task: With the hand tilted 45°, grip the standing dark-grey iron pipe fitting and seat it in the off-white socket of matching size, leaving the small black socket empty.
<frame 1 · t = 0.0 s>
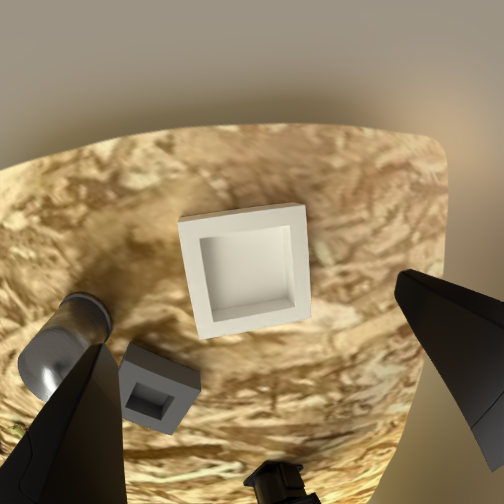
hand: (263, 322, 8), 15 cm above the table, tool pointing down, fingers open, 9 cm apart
key: (47, 449, 25), on the table
fitting: (85, 319, 22), on the table
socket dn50: (243, 264, 24), on the table
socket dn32: (151, 383, 25), on the table
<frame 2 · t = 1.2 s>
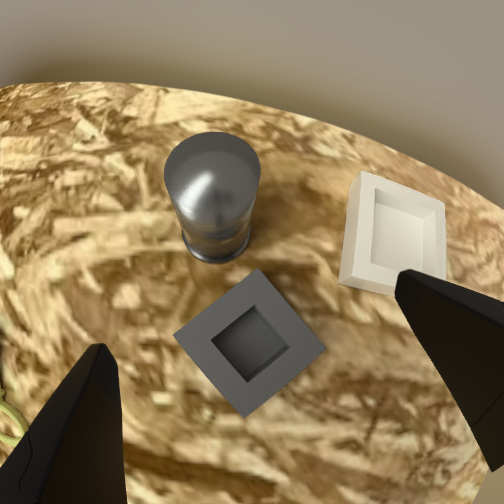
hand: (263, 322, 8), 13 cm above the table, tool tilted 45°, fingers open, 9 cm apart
key: (3, 390, 17), on the table
fitting: (216, 231, 23), on the table
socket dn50: (390, 244, 24), on the table
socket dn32: (247, 343, 20), on the table
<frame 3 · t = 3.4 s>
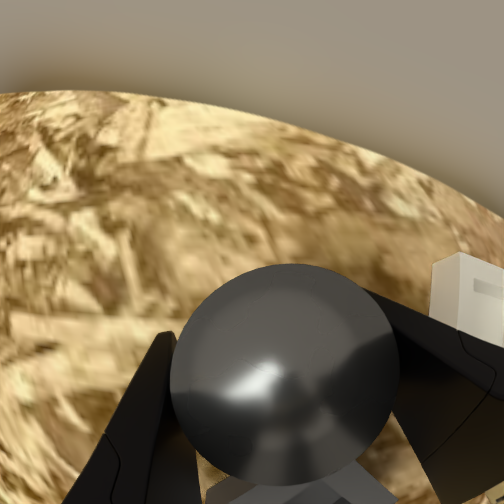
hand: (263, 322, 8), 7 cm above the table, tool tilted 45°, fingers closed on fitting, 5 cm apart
fitting: (253, 355, 14), on the table, touching gripper
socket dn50: (471, 340, 15), on the table
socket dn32: (297, 492, 12), on the table
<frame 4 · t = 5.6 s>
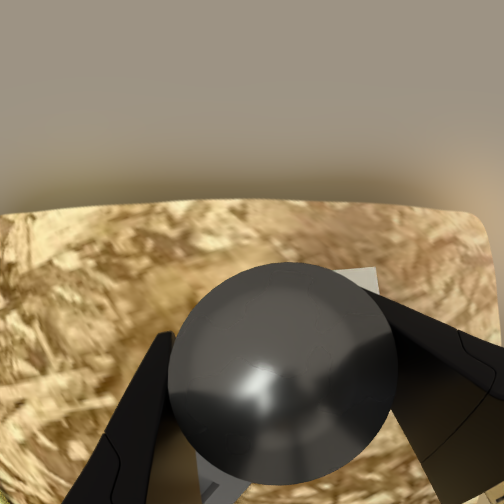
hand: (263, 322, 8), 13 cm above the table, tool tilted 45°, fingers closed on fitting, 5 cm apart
fitting: (252, 354, 14), point 7 cm above the table, touching gripper
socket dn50: (313, 337, 21), on the table
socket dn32: (188, 472, 17), on the table
when the fingers open (9 cm above the table, at t = 7.5 s): fitting drops 1 cm, resting on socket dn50.
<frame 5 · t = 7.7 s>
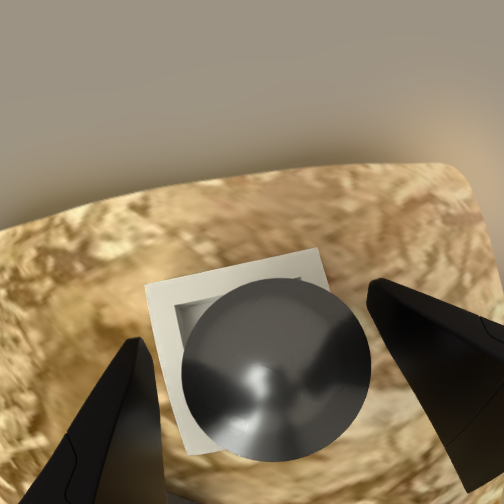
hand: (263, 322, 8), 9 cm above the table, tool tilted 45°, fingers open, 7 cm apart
fitting: (251, 354, 15), point 1 cm above the table, touching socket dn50
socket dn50: (249, 352, 16), on the table
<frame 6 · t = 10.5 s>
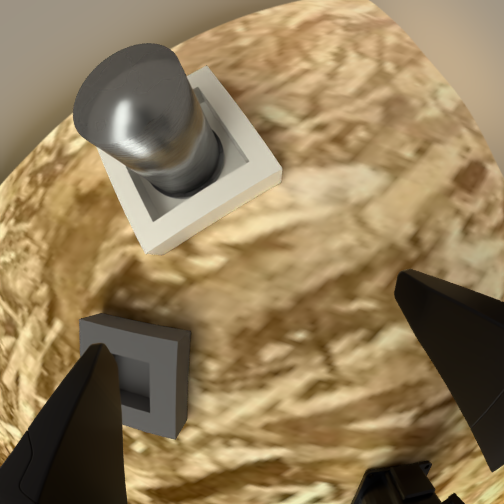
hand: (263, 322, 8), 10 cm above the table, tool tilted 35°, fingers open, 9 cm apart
fitting: (185, 160, 18), point 1 cm above the table, touching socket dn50
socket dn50: (187, 163, 19), on the table
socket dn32: (141, 368, 18), on the table
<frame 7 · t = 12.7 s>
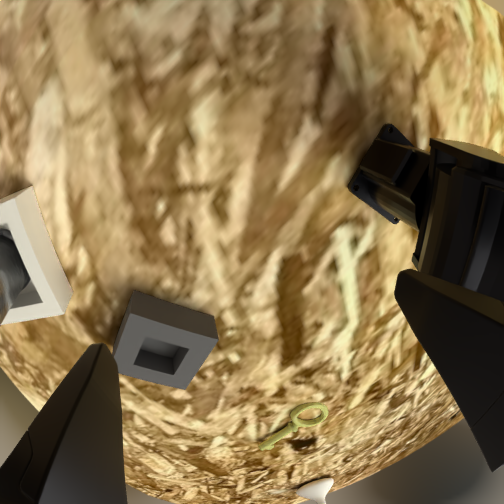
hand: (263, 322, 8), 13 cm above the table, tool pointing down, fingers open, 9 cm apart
key: (290, 420, 38), on the table
flower in vase: (314, 481, 63), on the table
fitting: (7, 259, 16), point 1 cm above the table, touching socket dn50
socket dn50: (11, 254, 17), on the table
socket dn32: (160, 333, 24), on the table
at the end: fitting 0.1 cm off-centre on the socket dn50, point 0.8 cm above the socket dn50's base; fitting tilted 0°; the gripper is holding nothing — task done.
